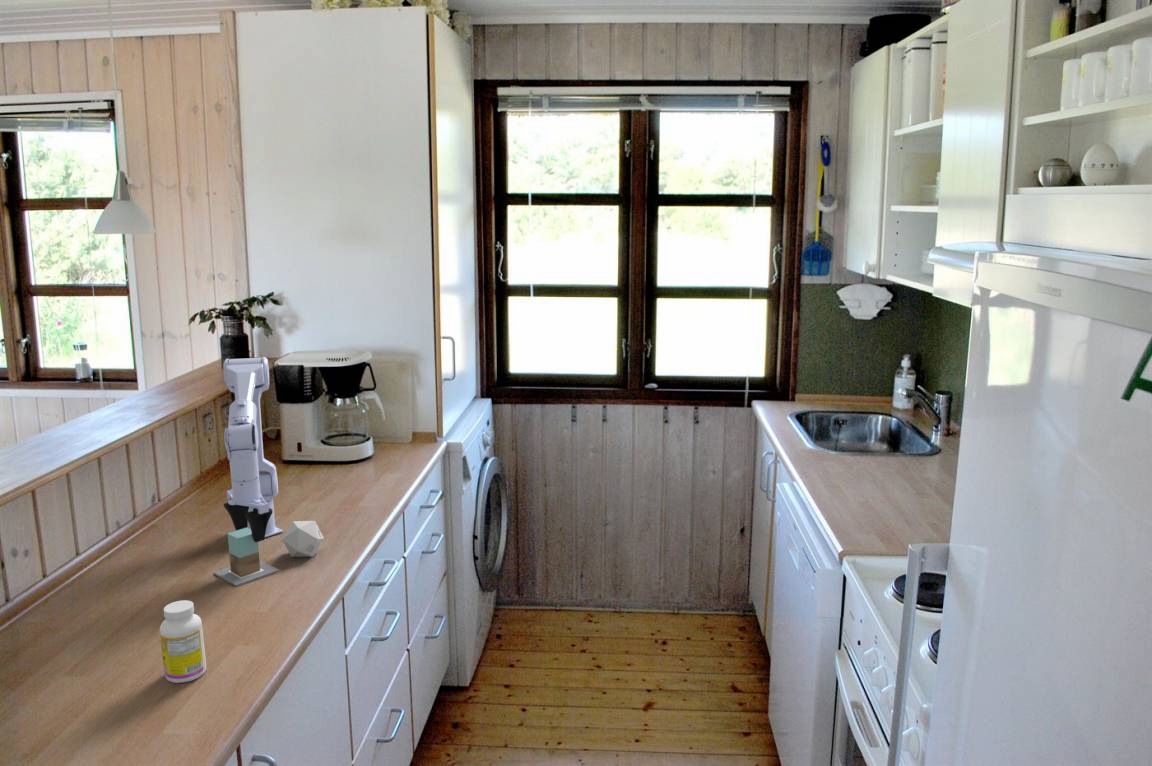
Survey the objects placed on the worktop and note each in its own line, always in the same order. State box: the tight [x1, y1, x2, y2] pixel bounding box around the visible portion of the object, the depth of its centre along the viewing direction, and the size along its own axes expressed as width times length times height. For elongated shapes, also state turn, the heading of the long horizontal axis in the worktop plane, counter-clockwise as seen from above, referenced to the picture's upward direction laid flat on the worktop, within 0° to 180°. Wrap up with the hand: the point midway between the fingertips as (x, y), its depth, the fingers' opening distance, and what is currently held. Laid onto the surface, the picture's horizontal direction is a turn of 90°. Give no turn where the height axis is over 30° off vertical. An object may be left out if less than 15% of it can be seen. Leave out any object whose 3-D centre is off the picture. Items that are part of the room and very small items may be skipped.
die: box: [282, 520, 325, 558], centre depth 198 cm, size 8×9×10 cm
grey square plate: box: [213, 559, 280, 587], centre depth 189 cm, size 10×10×1 cm
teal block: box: [227, 528, 260, 558], centre depth 187 cm, size 4×4×4 cm
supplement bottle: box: [159, 599, 207, 684], centre depth 147 cm, size 7×7×13 cm
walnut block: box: [228, 551, 260, 577], centre depth 188 cm, size 4×4×4 cm
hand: (250, 536), depth 189 cm, fingers open, 7 cm apart
